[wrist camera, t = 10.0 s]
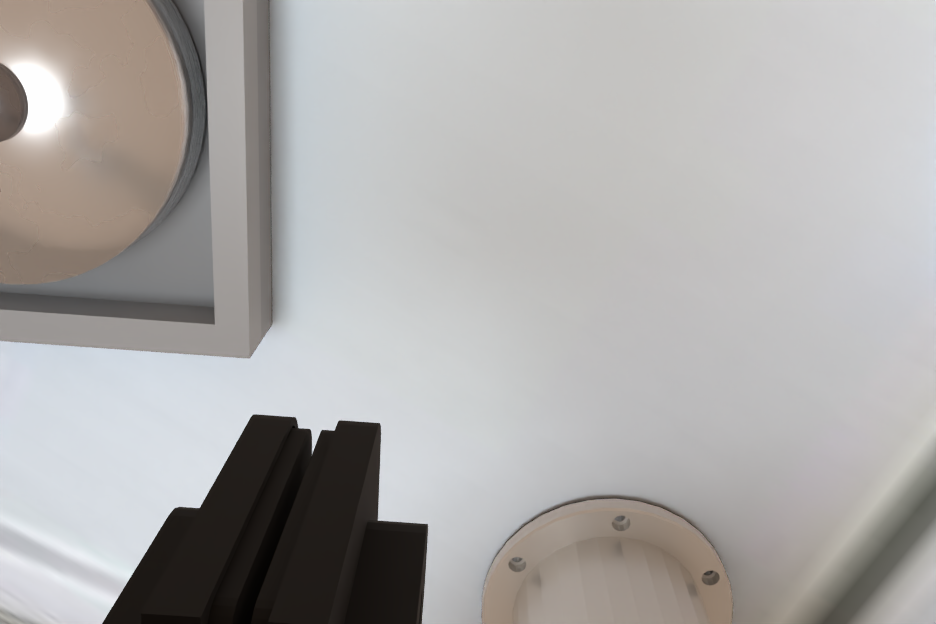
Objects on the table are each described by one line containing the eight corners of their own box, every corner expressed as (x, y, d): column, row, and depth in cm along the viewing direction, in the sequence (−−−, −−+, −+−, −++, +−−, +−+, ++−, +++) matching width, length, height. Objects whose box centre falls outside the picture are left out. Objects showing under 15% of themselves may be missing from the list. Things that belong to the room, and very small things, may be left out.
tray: (271, 324, 40) (247, 361, 36) (-121, 296, 40) (-190, 330, 36) (267, -167, 33) (236, -190, 29) (-207, -201, 33) (-304, -230, 29)
